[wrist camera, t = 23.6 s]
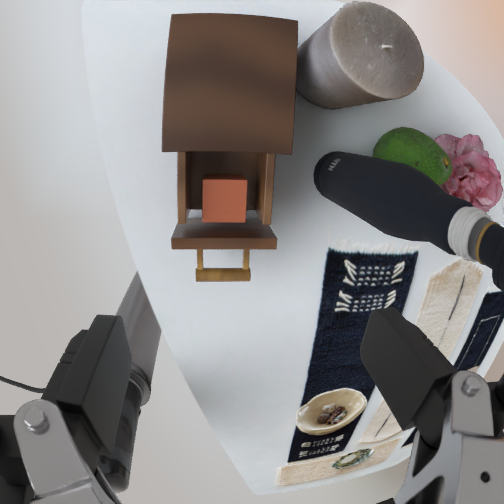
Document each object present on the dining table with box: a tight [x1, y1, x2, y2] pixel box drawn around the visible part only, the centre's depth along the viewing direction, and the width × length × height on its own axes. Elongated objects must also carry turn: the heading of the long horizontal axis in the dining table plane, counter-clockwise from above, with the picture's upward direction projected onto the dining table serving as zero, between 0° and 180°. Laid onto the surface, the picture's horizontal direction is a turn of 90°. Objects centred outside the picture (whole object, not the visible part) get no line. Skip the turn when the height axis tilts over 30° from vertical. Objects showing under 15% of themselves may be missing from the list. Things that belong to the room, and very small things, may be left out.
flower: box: [435, 134, 503, 212], centre depth 33 cm, size 15×15×10 cm
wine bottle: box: [314, 152, 504, 292], centre depth 22 cm, size 6×6×30 cm
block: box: [202, 174, 248, 223], centre depth 31 cm, size 4×4×4 cm
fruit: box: [373, 127, 452, 185], centre depth 30 cm, size 8×8×12 cm
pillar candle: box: [296, 1, 424, 109], centre depth 24 cm, size 10×10×15 cm
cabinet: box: [162, 13, 298, 155], centre depth 26 cm, size 14×12×9 cm
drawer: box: [171, 152, 277, 282], centre depth 31 cm, size 17×10×7 cm, turn 177°
